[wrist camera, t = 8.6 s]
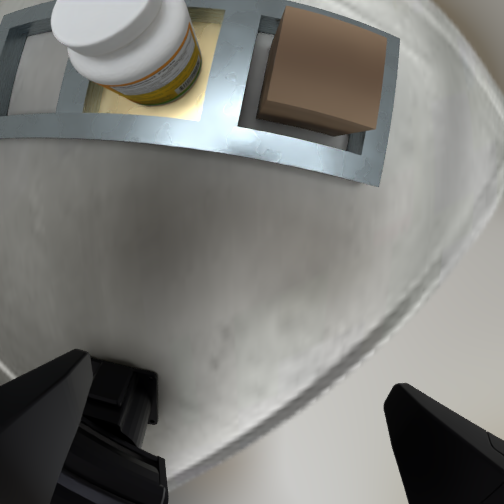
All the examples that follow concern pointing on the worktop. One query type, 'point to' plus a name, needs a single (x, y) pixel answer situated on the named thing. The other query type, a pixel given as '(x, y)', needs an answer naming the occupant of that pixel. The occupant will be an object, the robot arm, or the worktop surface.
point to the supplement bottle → (131, 46)
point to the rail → (196, 95)
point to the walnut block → (323, 75)
